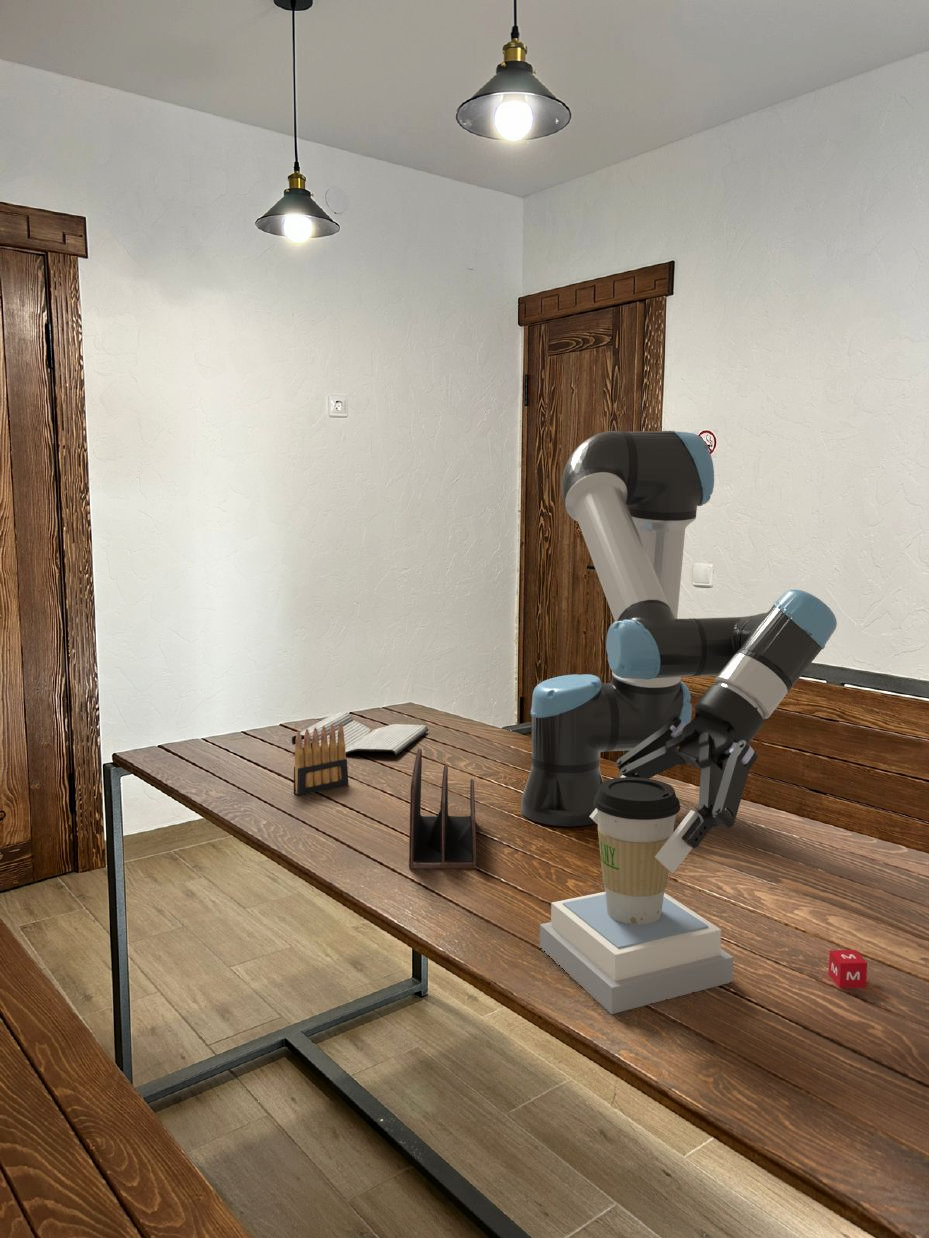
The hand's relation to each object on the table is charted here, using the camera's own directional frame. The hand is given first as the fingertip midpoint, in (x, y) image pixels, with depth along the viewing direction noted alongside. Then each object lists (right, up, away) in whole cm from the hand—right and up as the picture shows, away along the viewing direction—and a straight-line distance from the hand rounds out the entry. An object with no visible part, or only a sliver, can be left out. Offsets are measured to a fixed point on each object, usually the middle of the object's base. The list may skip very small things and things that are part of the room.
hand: (628, 843), depth 107 cm
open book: (-41, -2, +100) cm, 108 cm away
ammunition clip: (-45, -6, +68) cm, 82 cm away
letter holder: (-22, -10, +40) cm, 47 cm away
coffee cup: (+1, -9, +2) cm, 9 cm away
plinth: (+1, -15, +3) cm, 15 cm away
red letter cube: (+24, -15, -1) cm, 29 cm away
